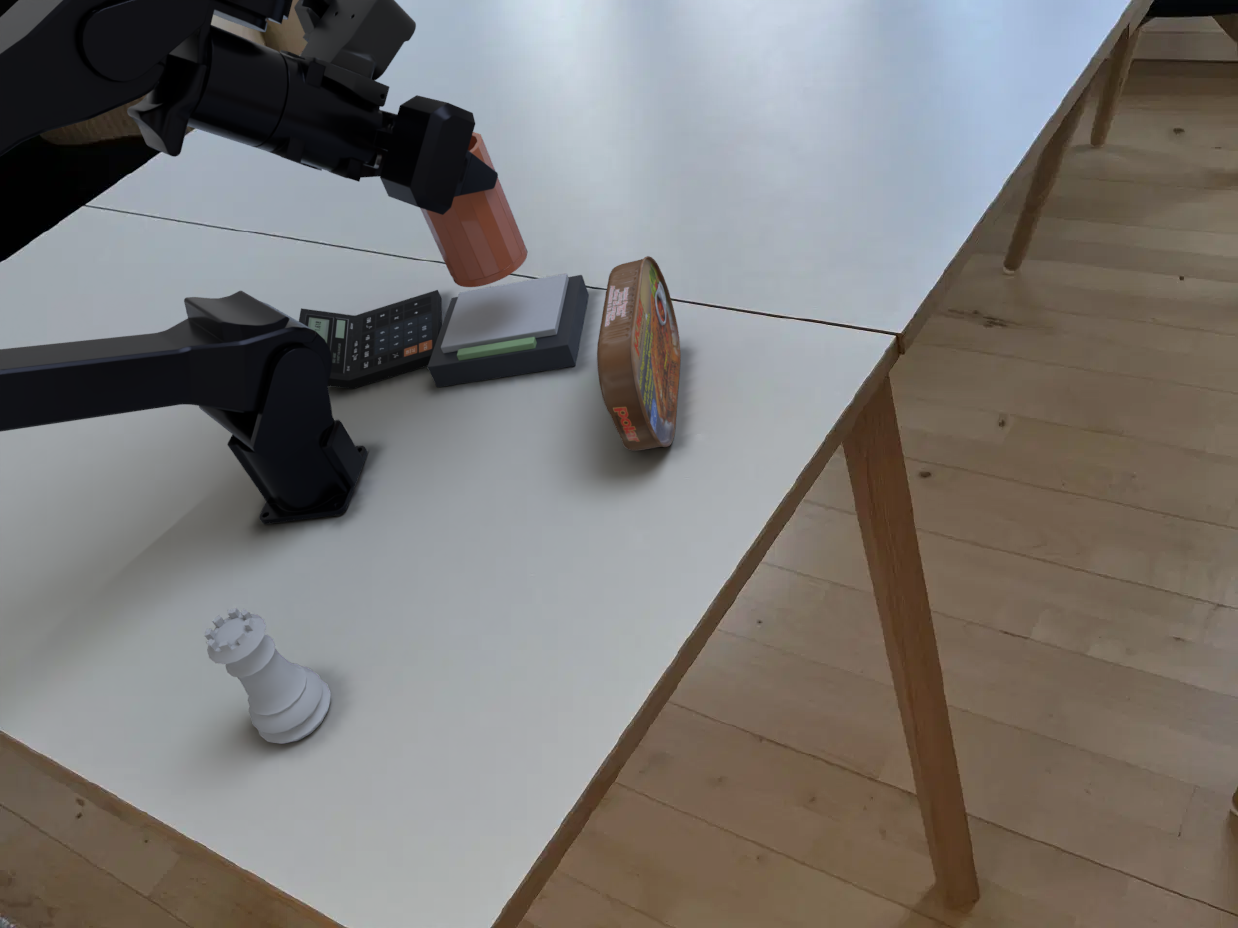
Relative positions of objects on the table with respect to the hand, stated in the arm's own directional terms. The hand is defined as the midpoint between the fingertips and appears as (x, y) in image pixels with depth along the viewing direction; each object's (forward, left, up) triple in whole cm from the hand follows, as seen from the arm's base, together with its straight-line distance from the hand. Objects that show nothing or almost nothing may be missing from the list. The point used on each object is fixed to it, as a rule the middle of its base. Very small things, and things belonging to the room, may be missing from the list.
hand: (469, 172), depth 75 cm
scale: (-1, -1, -13) cm, 14 cm away
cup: (-1, -1, -7) cm, 7 cm away
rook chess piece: (-8, -34, -14) cm, 38 cm away
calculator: (-13, +1, -14) cm, 19 cm away
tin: (+11, -11, -14) cm, 21 cm away
